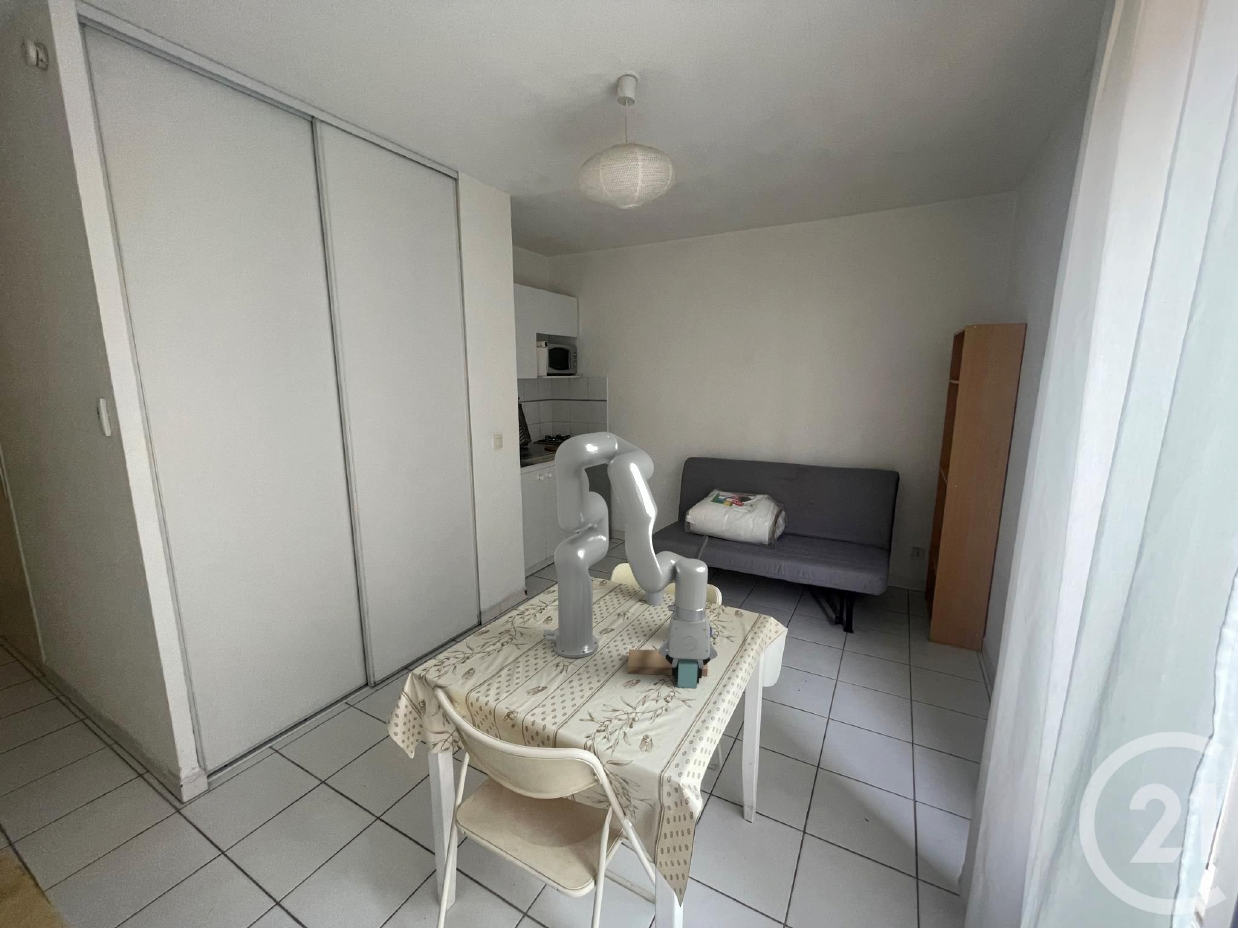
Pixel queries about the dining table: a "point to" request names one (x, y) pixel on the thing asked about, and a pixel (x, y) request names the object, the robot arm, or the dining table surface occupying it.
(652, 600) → the house plant
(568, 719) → the dining table surface
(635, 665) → the board
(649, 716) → the dining table surface
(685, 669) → the gauge
